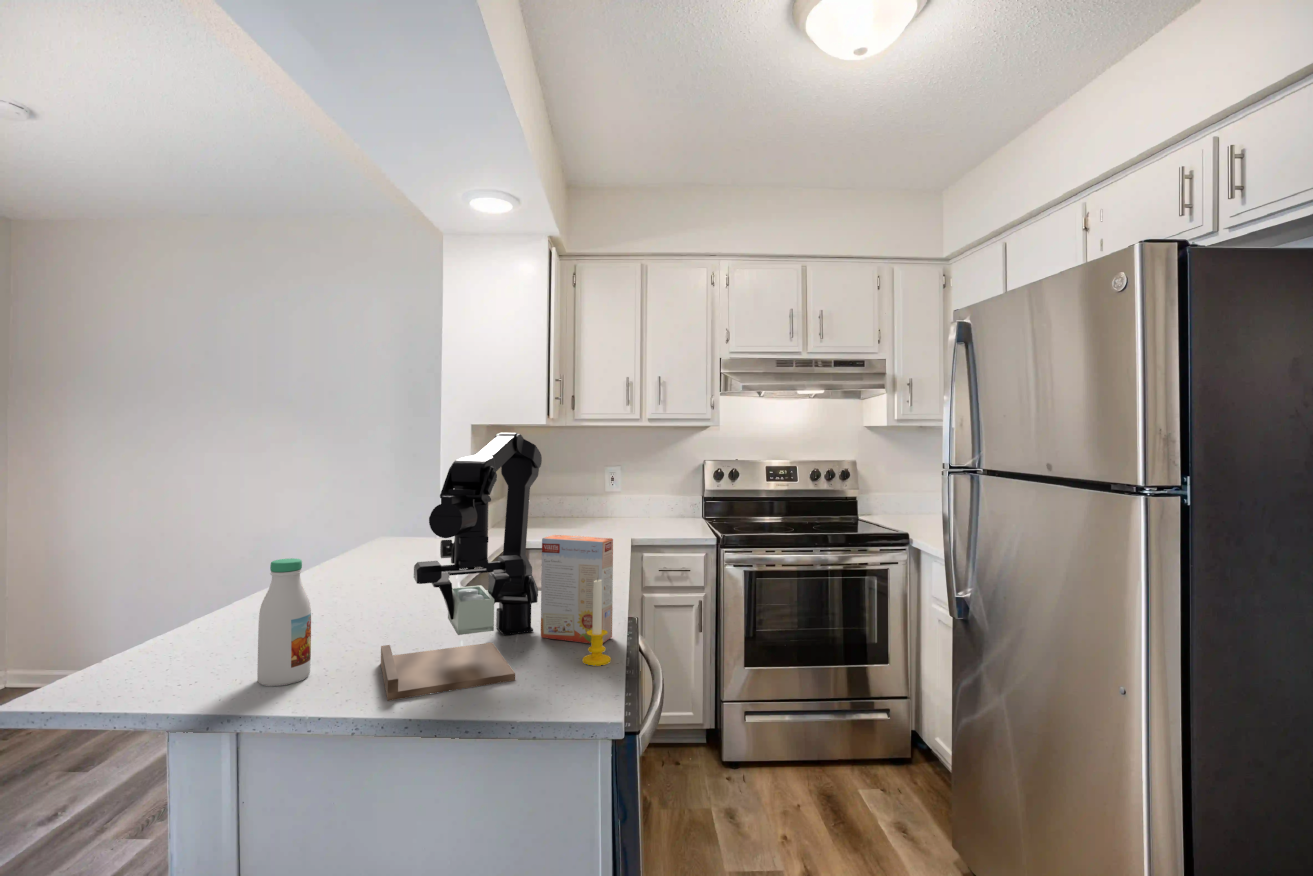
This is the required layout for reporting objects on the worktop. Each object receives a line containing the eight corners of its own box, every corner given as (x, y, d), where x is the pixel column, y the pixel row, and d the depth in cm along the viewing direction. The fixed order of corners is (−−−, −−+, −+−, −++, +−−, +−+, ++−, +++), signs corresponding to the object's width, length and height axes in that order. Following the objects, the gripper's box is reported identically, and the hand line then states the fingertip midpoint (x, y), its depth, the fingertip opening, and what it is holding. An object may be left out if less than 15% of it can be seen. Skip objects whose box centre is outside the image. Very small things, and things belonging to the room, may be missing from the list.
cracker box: (613, 637, 130) (614, 537, 131) (601, 646, 125) (602, 541, 125) (553, 630, 135) (555, 533, 135) (539, 638, 129) (540, 537, 130)
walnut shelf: (492, 648, 122) (492, 632, 122) (515, 680, 106) (515, 661, 106) (380, 663, 113) (381, 646, 113) (387, 700, 97) (387, 680, 97)
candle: (584, 667, 113) (586, 581, 113) (580, 657, 118) (581, 575, 118) (613, 665, 114) (614, 579, 115) (607, 655, 120) (609, 574, 120)
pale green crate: (480, 614, 118) (481, 585, 118) (493, 630, 108) (494, 598, 108) (447, 618, 115) (448, 588, 115) (457, 635, 106) (458, 602, 106)
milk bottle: (272, 691, 100) (274, 566, 101) (248, 681, 104) (250, 561, 105) (319, 676, 107) (321, 559, 107) (295, 667, 111) (297, 554, 111)
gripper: (512, 521, 123) (511, 600, 123) (411, 526, 115) (409, 611, 115) (527, 529, 113) (526, 615, 113) (418, 535, 105) (416, 628, 105)
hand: (470, 616), depth 112 cm, fingers closed on pale green crate, 6 cm apart
